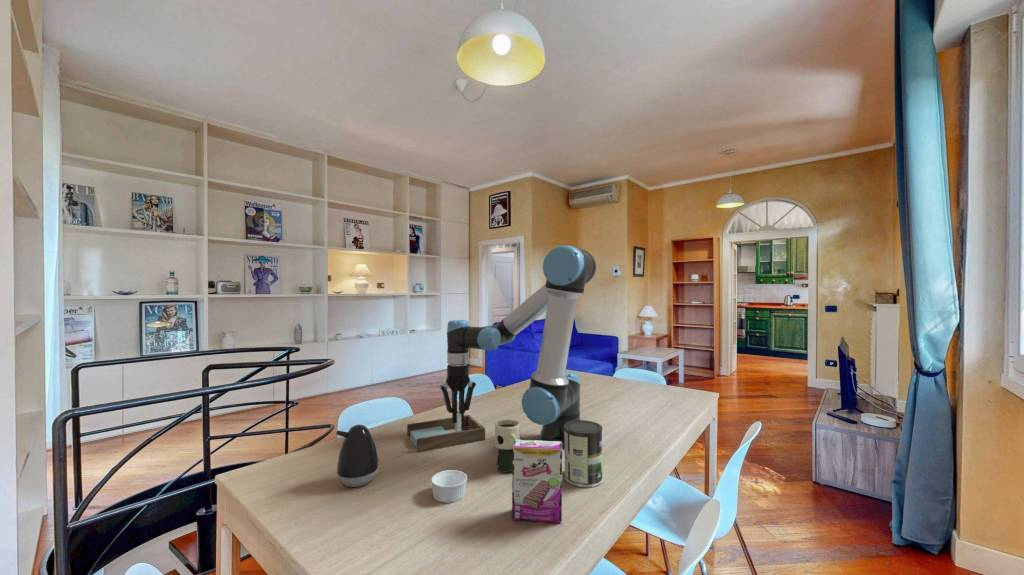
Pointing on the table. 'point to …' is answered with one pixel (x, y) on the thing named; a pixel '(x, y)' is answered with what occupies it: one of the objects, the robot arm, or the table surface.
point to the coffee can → (583, 453)
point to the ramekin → (449, 486)
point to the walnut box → (451, 438)
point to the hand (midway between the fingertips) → (458, 431)
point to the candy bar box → (537, 481)
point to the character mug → (506, 442)
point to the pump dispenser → (357, 457)
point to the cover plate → (426, 433)
